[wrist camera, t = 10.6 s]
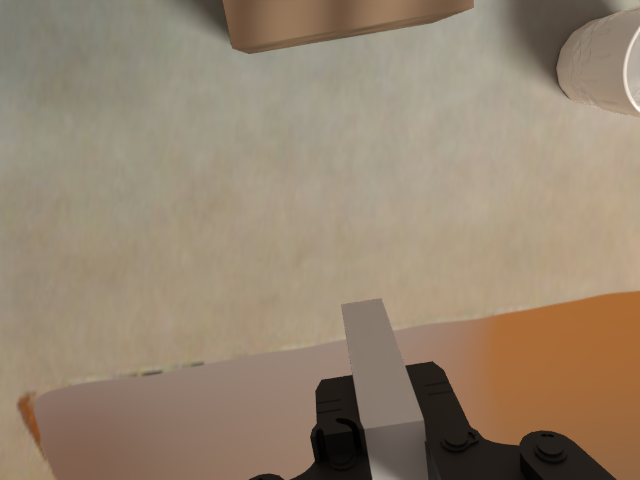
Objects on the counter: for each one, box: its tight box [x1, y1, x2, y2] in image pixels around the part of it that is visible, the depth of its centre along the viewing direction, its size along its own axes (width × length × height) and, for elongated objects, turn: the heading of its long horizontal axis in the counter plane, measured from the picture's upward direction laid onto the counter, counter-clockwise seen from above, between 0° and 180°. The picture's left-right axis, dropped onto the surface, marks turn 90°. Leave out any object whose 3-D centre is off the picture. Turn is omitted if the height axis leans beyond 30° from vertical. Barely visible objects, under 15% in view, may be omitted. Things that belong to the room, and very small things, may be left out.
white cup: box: [556, 6, 640, 118], centre depth 36 cm, size 8×8×10 cm
